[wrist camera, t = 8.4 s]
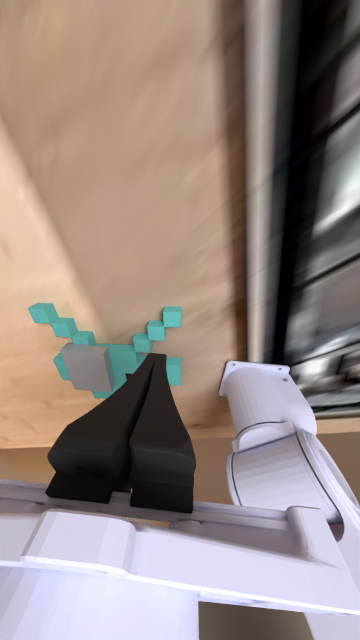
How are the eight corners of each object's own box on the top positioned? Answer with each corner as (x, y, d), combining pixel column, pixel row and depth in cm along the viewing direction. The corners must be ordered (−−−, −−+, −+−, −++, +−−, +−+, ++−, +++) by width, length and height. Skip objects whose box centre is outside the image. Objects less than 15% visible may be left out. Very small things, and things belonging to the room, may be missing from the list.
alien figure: (41, 301, 24) (81, 393, 33) (27, 308, 22) (74, 404, 31) (181, 304, 22) (181, 399, 32) (180, 312, 21) (180, 410, 30)
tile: (103, 354, 23) (60, 350, 23) (111, 392, 26) (74, 389, 27) (108, 346, 24) (67, 343, 24) (115, 384, 28) (80, 381, 28)
